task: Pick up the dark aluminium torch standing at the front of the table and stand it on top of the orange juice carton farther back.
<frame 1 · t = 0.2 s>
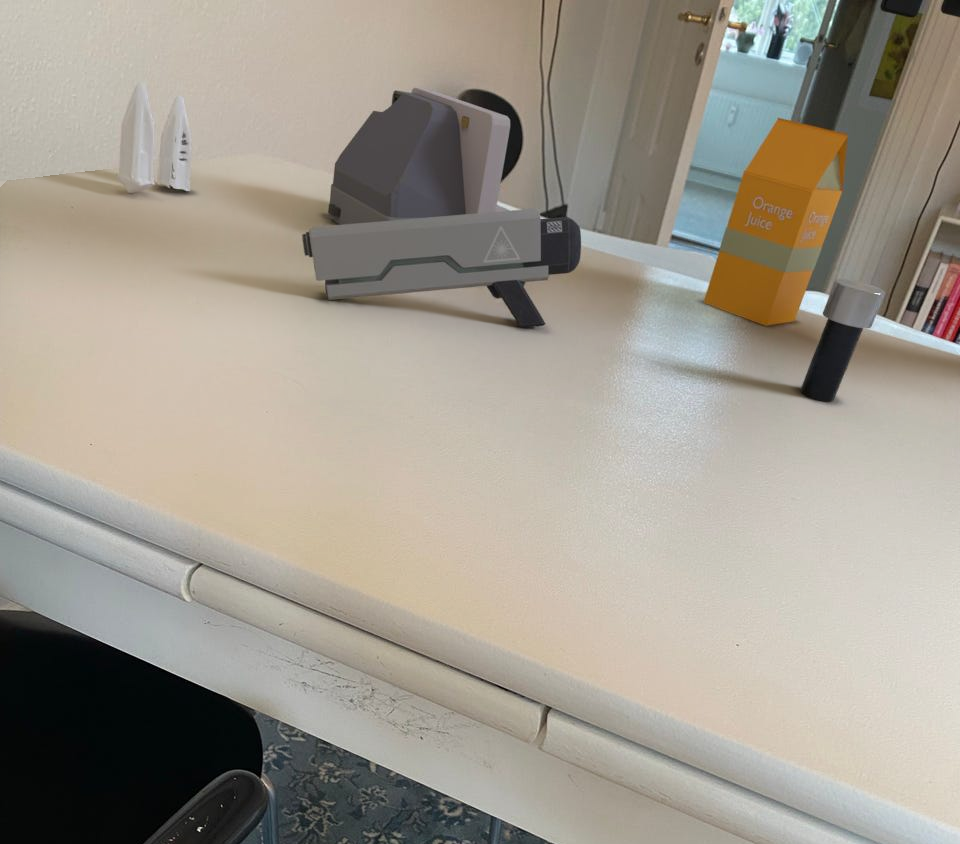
hand: (926, 15, 71), 30 cm above the table, tool pointing down, fingers open, 9 cm apart
gun: (434, 314, 85), on the table
orange juice: (748, 313, 110), on the table
shaker set: (155, 194, 106), on the table
torch: (816, 395, 85), on the table
instant camera: (419, 240, 111), on the table
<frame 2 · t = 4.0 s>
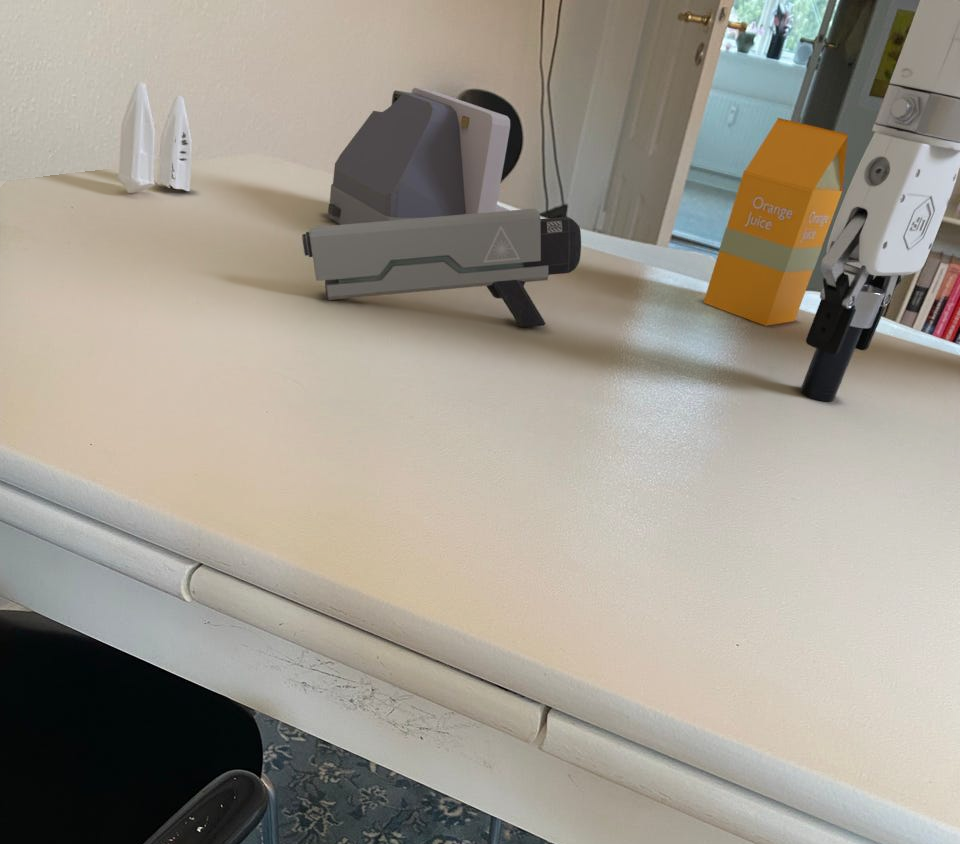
hand: (836, 345, 83), 5 cm above the table, tool pointing down, fingers closed on torch, 4 cm apart
torch: (816, 395, 85), on the table, touching gripper
everything else where it was.
when the fingers open (25 cm above the table, at t = 12.2 s): torch stays where it is, resting on orange juice.
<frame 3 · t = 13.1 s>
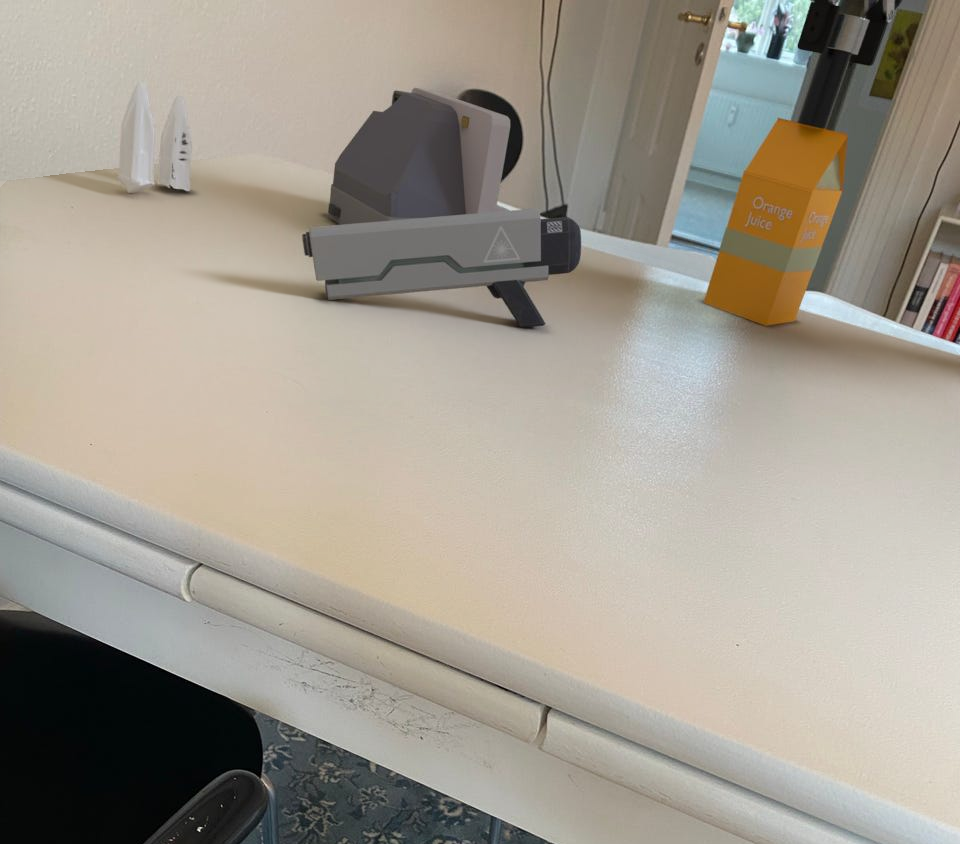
hand: (835, 57, 95), 26 cm above the table, tool pointing down, fingers open, 9 cm apart
orange juice: (748, 313, 110), on the table, touching torch
torch: (811, 125, 99), point 20 cm above the table, touching orange juice
everything else where it was.
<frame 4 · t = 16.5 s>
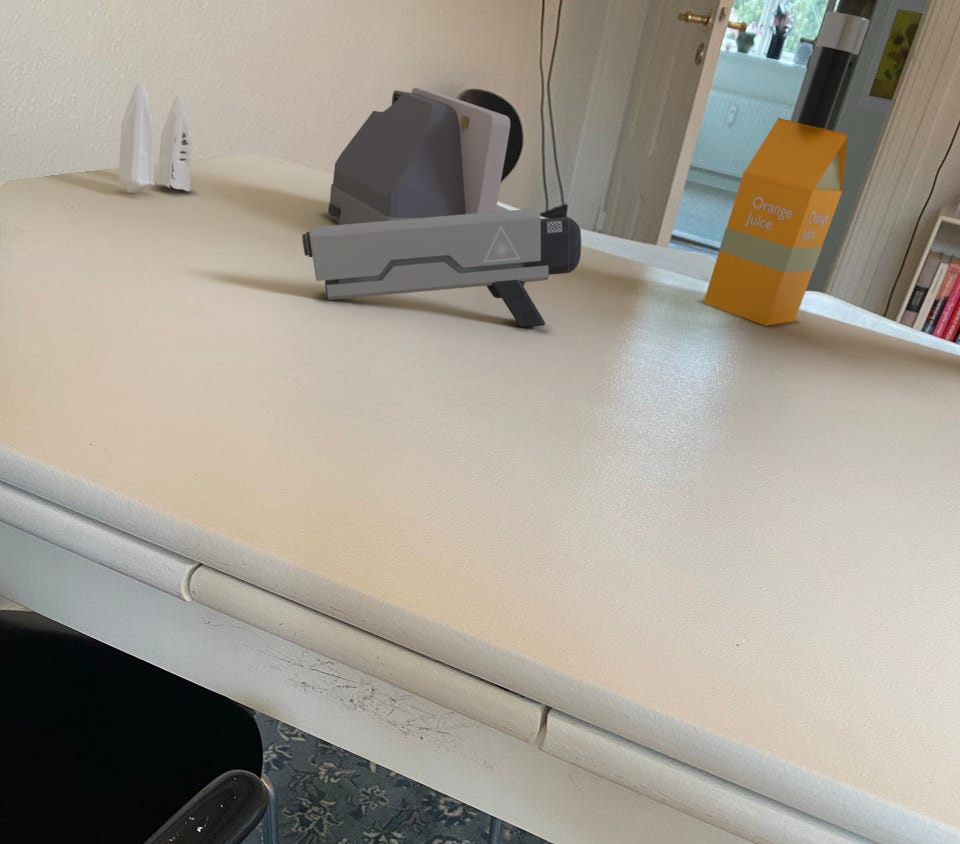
nothing on the table moved.
at the end: torch 0.1 cm off-centre on the orange juice, point 20.2 cm above the orange juice's base; torch tilted 0°; orange juice tilted 0° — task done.
